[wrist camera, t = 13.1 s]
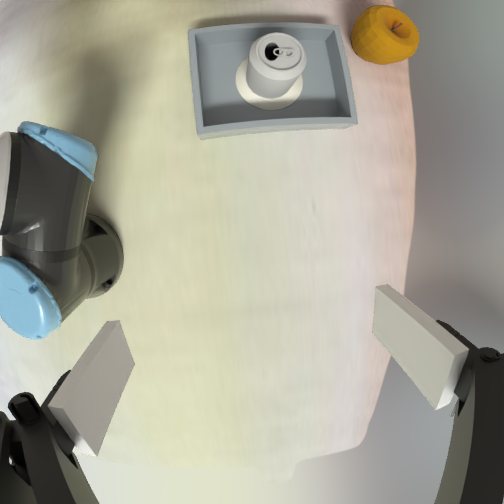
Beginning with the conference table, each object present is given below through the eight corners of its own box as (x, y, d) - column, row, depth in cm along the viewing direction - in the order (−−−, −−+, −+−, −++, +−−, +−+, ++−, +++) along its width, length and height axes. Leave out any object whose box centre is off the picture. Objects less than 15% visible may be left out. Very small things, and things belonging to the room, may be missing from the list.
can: (248, 57, 39) (254, 23, 27) (293, 64, 40) (312, 34, 28) (242, 96, 41) (246, 71, 29) (288, 103, 41) (307, 81, 30)
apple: (372, 84, 42) (410, 64, 30) (329, 44, 40) (356, 12, 27) (400, 56, 40) (436, 35, 28) (360, 19, 38) (389, -11, 26)
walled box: (201, 139, 43) (197, 134, 37) (192, 45, 38) (187, 30, 33) (343, 128, 44) (358, 123, 38) (327, 39, 39) (338, 25, 34)
